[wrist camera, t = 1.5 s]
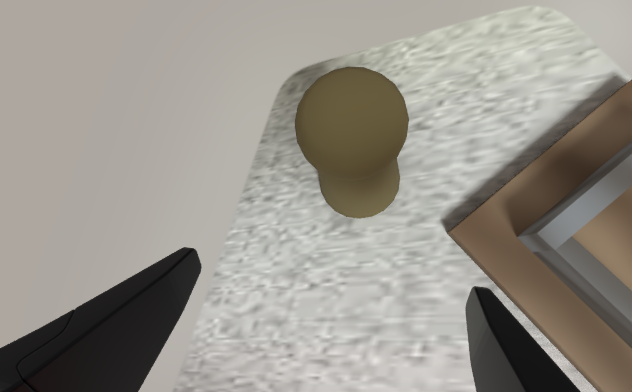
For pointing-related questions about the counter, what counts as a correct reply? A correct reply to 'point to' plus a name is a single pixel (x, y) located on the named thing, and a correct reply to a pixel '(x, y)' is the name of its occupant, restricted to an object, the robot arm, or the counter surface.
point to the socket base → (569, 243)
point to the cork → (354, 138)
